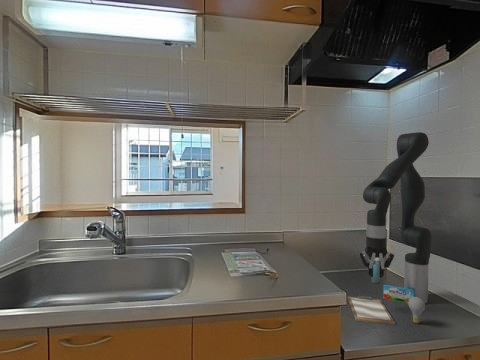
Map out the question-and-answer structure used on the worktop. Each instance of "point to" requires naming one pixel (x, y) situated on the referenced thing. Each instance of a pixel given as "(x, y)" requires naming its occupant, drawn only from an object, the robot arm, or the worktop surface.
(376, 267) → the bottle
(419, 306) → the light bulb
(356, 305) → the clipboard
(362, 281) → the worktop surface
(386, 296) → the yogurt
